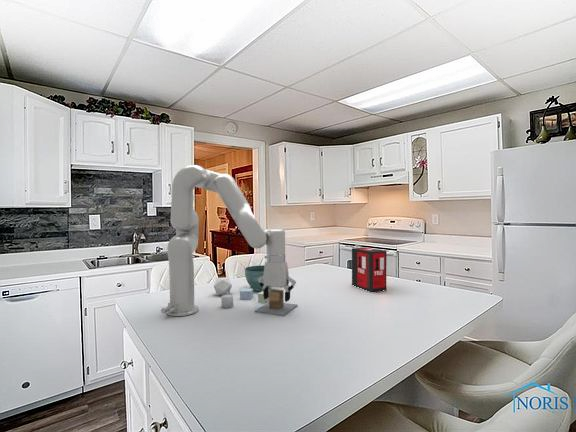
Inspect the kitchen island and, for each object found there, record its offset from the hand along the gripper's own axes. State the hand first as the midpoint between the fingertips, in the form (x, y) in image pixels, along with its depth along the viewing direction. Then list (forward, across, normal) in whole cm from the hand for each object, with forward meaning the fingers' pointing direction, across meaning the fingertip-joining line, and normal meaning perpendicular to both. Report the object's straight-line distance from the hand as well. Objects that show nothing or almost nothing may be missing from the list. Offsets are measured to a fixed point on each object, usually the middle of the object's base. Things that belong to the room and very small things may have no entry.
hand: (276, 299), depth 135 cm
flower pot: (+4, -22, +26) cm, 34 cm away
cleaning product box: (+4, +29, +49) cm, 57 cm away
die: (+4, -34, +10) cm, 36 cm away
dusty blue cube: (+4, -20, +9) cm, 22 cm away
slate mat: (+4, 0, 0) cm, 4 cm away
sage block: (+4, -10, +8) cm, 13 cm away
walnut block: (+3, 0, 0) cm, 3 cm away
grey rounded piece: (+4, -21, -5) cm, 22 cm away
